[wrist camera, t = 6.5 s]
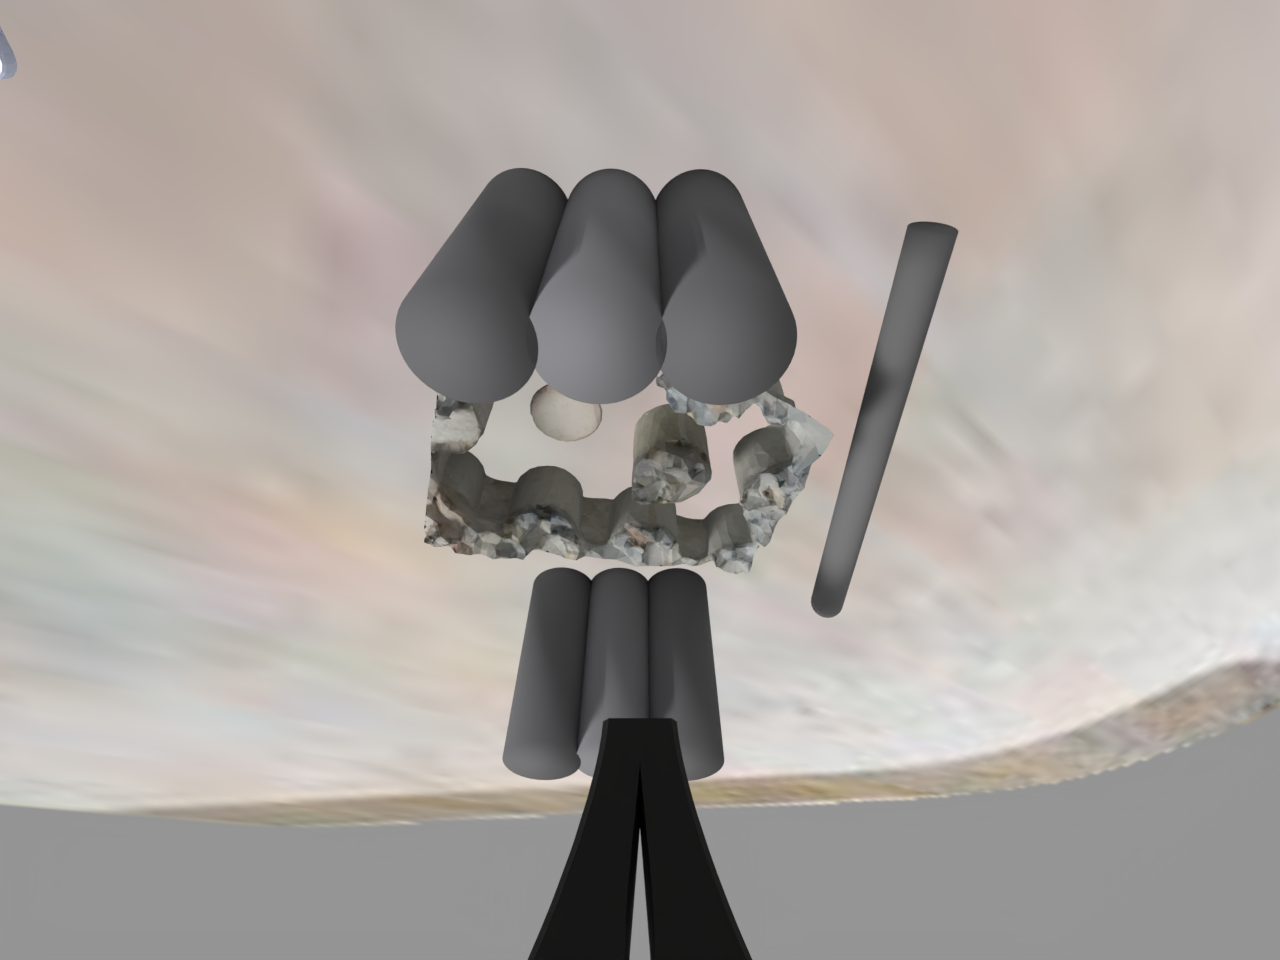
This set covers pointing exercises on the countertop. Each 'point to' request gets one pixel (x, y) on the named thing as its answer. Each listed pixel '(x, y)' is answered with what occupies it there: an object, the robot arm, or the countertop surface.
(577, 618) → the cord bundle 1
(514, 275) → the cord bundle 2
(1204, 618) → the countertop surface
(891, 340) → the dark grey rod
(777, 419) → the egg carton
